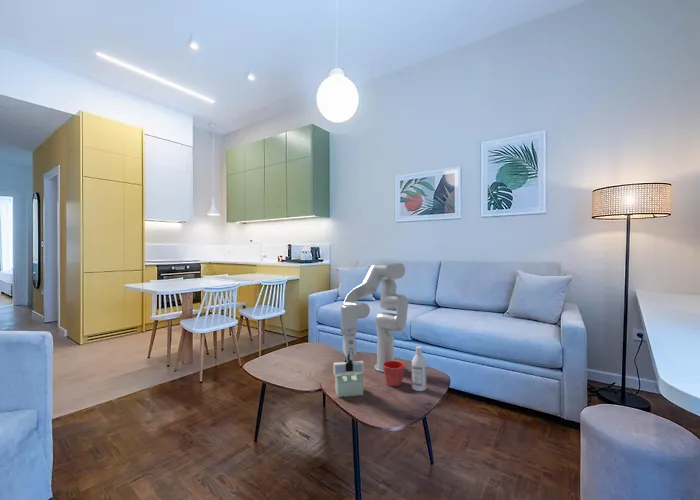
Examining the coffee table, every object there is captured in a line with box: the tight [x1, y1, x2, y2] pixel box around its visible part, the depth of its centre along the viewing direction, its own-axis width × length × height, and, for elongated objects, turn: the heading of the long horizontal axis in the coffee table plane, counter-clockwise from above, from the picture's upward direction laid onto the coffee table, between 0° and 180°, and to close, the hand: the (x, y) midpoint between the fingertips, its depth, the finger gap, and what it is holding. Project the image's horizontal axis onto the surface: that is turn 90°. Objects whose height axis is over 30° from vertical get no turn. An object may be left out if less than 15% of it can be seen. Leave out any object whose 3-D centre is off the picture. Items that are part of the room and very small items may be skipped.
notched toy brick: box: [334, 373, 364, 398], centre depth 149 cm, size 12×8×8 cm, turn 101°
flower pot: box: [383, 360, 406, 387], centre depth 159 cm, size 11×11×10 cm
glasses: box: [333, 360, 365, 376], centre depth 149 cm, size 14×3×5 cm, turn 101°
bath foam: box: [411, 346, 427, 392], centre depth 153 cm, size 7×7×20 cm
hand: (348, 369), depth 149 cm, fingers closed on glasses, 2 cm apart
